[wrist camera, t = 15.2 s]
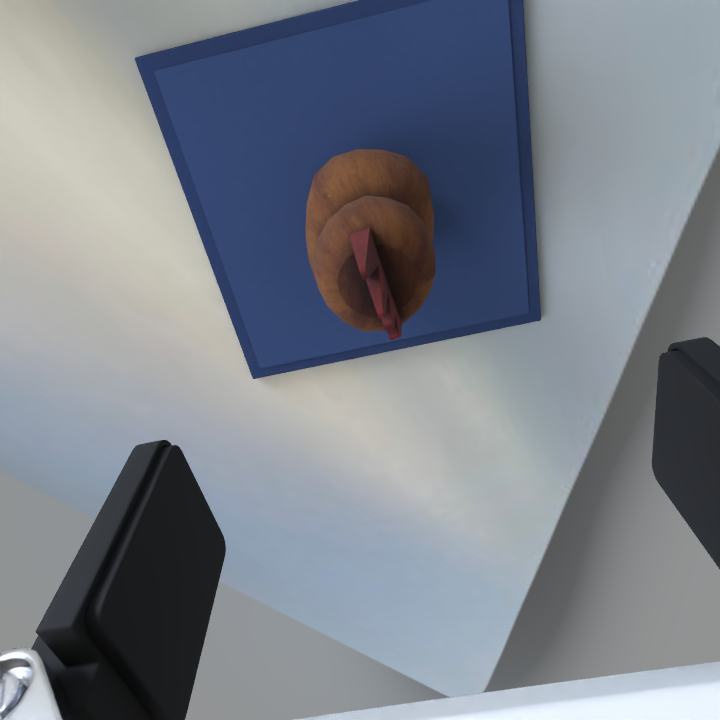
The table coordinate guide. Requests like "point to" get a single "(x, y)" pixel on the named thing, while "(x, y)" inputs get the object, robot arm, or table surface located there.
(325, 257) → the wooden figurine
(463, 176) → the blue square tray
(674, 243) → the table surface
